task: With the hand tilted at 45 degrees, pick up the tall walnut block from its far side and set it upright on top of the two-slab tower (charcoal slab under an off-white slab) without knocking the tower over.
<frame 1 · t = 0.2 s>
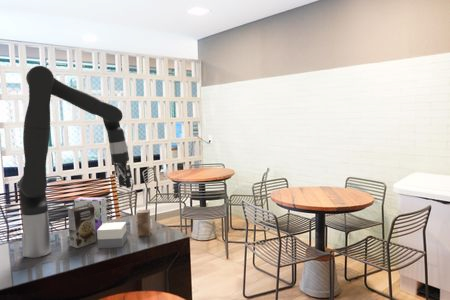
hand: (125, 186, 162), 23 cm above the table, tool pointing down, fingers open, 8 cm apart
tower base slab: (113, 243, 154), on the table, touching tower top slab
candy box: (91, 232, 170), on the table
coffee box: (83, 244, 154), on the table
tower top slab: (112, 234, 154), point 4 cm above the table, touching tower base slab
walnut block: (144, 234, 165), on the table
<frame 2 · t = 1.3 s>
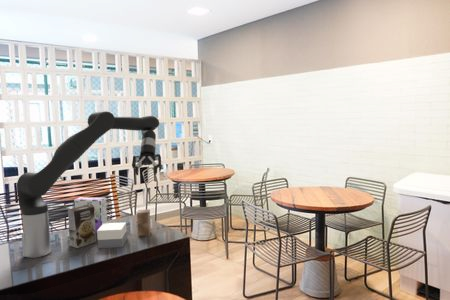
hand: (146, 174, 173), 26 cm above the table, tool tilted 45°, fingers open, 8 cm apart
nothing on the table moved.
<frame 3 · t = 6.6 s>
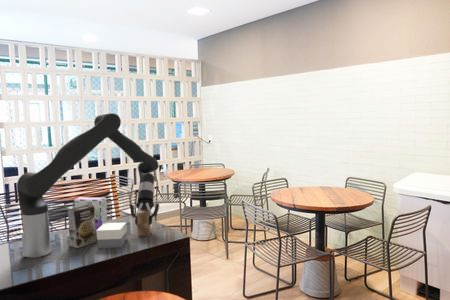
hand: (143, 224, 162), 5 cm above the table, tool tilted 45°, fingers closed on walnut block, 5 cm apart
walnut block: (144, 234, 165), on the table, touching gripper
everything else where it was.
when the fingers open (15 cm above the table, at t = 14.8 s): walnut block drops 2 cm, resting on tower top slab.
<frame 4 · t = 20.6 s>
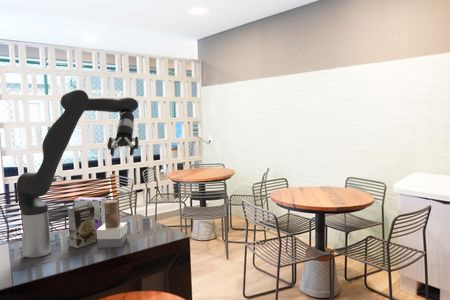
hand: (121, 155, 167), 37 cm above the table, tool tilted 45°, fingers open, 8 cm apart
tower top slab: (112, 234, 154), point 4 cm above the table, touching tower base slab, walnut block
walnut block: (112, 225, 154), point 8 cm above the table, touching tower top slab
everything else where it was.
at the end: walnut block 0.4 cm off-centre on the tower top slab, point 4.0 cm above the tower top slab's base; walnut block tilted 0°; tower top slab 0.1 cm off-centre on the tower base slab, point 4.0 cm above the tower base slab's base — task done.
